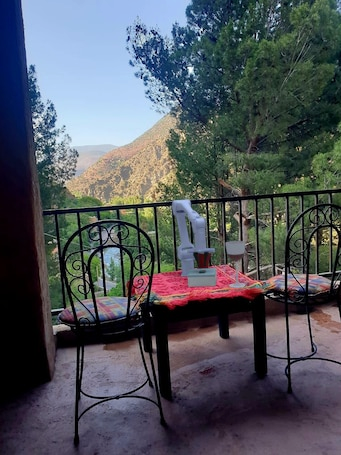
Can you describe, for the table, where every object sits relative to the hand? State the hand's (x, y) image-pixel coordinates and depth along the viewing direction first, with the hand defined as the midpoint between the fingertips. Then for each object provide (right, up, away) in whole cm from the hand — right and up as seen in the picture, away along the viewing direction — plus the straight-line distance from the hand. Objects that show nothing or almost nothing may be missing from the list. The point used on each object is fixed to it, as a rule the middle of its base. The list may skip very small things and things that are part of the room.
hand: (201, 266), depth 190 cm
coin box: (+1, -9, +1) cm, 9 cm away
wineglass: (+17, -9, -9) cm, 21 cm away
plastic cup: (+4, -6, +30) cm, 31 cm away
